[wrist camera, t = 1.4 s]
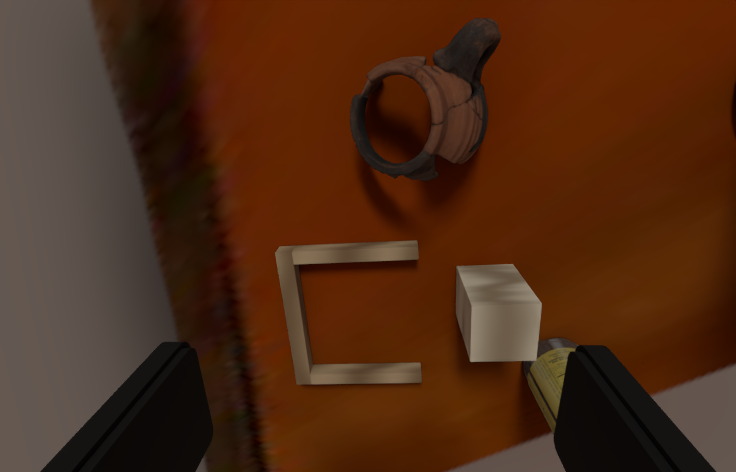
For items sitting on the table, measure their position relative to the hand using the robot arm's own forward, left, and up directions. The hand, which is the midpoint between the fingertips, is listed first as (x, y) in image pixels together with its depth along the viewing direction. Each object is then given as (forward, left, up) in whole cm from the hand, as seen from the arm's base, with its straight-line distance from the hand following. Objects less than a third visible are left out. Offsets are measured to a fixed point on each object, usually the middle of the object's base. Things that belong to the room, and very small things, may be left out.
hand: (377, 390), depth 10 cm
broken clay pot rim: (-4, -6, -24) cm, 25 cm away
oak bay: (+4, +12, -24) cm, 27 cm away
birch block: (-8, +10, -24) cm, 28 cm away
